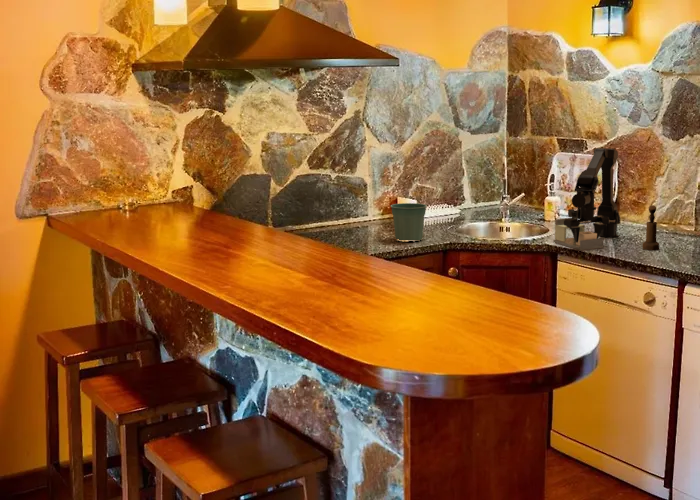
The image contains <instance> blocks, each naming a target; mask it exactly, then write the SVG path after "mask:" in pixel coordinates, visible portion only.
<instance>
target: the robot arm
mask: <svg viewBox="0 0 700 500" xmlns="http://www.w3.org/2000/svg"><path fill="white" fill-rule="evenodd" d="M591 157H592V158H591V159H590V161H589V163H588V165H587V168H586V169H585V170H583V171H581V173H580V174H579V176H578V177H577V179H576V183H575V187H574V192H576V194H574V195H573V196H572V198H571V204H572V206H573V207H575V208H577V210H575V209H573V208H572V209H571V208H570V209H568V210H567V217H566V218H567V219H565V220H564V225H565V226H567V227H569V228H570V229H569V230H570V231H571V233H572V237H573V236H574V237H573V238H574V239H575V242H576V243H578V239H579V232H580V227H578V226H579V225H580V224H582V225H585V224H592V225H593V229H594V232H593V233H597V239H599V237H602V238H608V239H609V238H616V237H617V238H618V237H619V234H618V233H617V232H618V224H621V215H620V212H619V210H618V205H617V203H616V201H615V200H614V167H615V165H616V164H617V160H618V157H619V152H618V150H616V148H615V147H614V148H613V147H612V148H609V147H608V148H606V147H596V148H594V150H593V155H592V156H591ZM600 170H601V202H600V204H599V205H598V207H596V206H595V195H596V194H595V193H596V190H597V188H598V186H599V185H598V184H599V182H600V181H599V177H598V174H599V171H600ZM596 210H597V213H596V215H595V211H596Z"/></svg>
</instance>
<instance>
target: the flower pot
mask: <svg viewBox="0 0 700 500" xmlns="http://www.w3.org/2000/svg"><path fill="white" fill-rule="evenodd" d="M427 207H428V205H427V204H424V203H417V202H415V203H414V202H408V203H407V202H404V203H403V202H402V203H393V204H391V205H390V208H391V214H392V216H393V217H392V218H393V227H394V228H393V229H394V239H395V238H396V239H399V240H421V239H422V240H423V237H424V235H423V234H424V233H423V232H424V225H425V223H424V222H425V215H426V211H427Z"/></svg>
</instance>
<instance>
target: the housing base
mask: <svg viewBox="0 0 700 500" xmlns="http://www.w3.org/2000/svg"><path fill="white" fill-rule="evenodd" d="M604 239H605V237H602V238H601V237H600V238H599V237H598V239H589V240H580V245H577V244H576V242H575V239H574V237H566V242H563V241H560V240H557V239H555V238H554V239H553V243H554V242H555V243H554V244H557V243H558V245H561V246H564V247H567V248H570V249H573V250H578V251H586V250H587V251H589V250H598V249H603V248H604V242H605V241H604Z"/></svg>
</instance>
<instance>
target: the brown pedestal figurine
mask: <svg viewBox="0 0 700 500" xmlns="http://www.w3.org/2000/svg"><path fill="white" fill-rule="evenodd" d="M648 211H649V216H648V218H649V221H646V232H645V233H646V235H645V240H644V241H643V242H642V250H646V251H659V250H660V243H659V242H658V240H657V230H658V229H657V228H658V227H657V225H658V222H657V221H655V219H656V216H655V214H656V211H657V206H656V205H649V206H648Z"/></svg>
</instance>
